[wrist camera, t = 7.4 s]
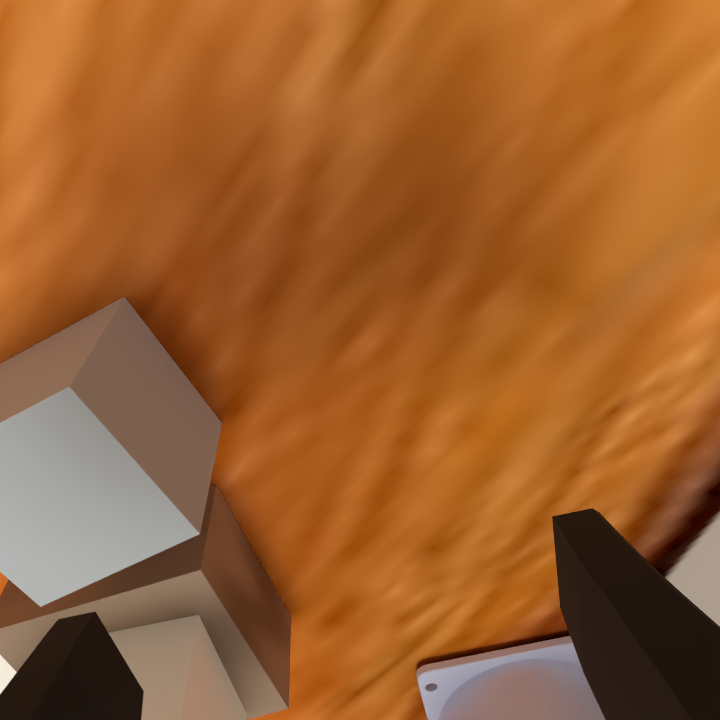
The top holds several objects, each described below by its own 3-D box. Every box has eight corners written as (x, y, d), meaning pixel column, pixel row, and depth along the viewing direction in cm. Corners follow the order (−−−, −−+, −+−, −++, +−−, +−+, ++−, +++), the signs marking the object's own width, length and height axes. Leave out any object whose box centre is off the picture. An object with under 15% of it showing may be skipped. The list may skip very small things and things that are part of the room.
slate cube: (222, 422, 21) (200, 534, 17) (94, 484, 22) (40, 606, 18) (125, 295, 19) (69, 386, 14) (-15, 370, 20) (-107, 478, 15)
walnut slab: (291, 611, 26) (288, 708, 22) (126, 657, 26) (99, 759, 23) (217, 479, 22) (200, 570, 19) (30, 536, 23) (-20, 634, 20)
